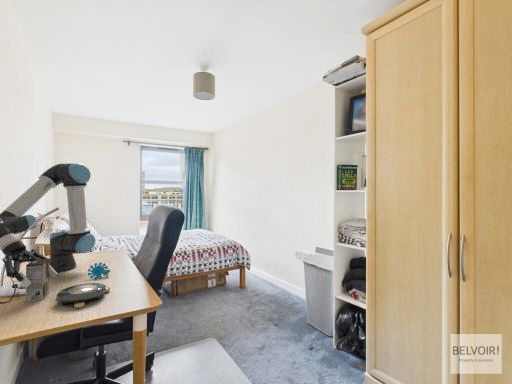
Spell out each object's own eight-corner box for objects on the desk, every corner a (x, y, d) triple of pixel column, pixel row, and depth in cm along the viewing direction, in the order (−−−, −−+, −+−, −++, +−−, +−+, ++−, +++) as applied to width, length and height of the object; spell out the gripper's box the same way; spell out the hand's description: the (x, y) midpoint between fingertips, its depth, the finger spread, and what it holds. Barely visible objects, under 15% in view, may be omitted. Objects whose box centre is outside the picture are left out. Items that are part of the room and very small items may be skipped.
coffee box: (32, 294, 123) (33, 259, 123) (49, 292, 126) (50, 258, 126) (24, 302, 115) (25, 264, 115) (43, 300, 117) (43, 263, 117)
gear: (84, 277, 143) (90, 261, 151) (85, 282, 147) (91, 266, 154) (107, 278, 147) (112, 262, 154) (108, 283, 151) (112, 267, 158)
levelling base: (74, 289, 130) (74, 280, 130) (115, 290, 129) (116, 281, 129) (37, 307, 109) (37, 296, 109) (85, 309, 108) (86, 298, 108)
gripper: (30, 246, 134) (58, 277, 133) (-25, 258, 109) (9, 296, 108) (40, 236, 133) (69, 266, 132) (-13, 245, 109) (22, 283, 108)
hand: (42, 280), depth 120 cm, fingers open, 13 cm apart
